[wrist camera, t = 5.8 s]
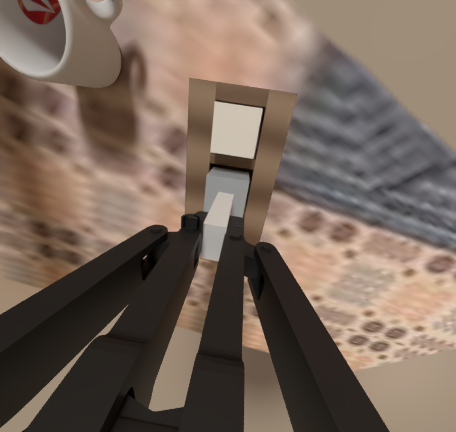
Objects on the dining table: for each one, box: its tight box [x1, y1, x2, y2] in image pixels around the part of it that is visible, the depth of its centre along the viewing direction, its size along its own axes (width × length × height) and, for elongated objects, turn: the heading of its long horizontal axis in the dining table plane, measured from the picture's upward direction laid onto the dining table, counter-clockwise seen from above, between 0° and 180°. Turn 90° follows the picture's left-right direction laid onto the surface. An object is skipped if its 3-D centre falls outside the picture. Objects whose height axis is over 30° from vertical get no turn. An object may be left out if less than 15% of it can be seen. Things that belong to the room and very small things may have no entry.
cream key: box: [210, 101, 263, 159], centre depth 19 cm, size 4×4×4 cm
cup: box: [0, 0, 123, 88], centre depth 16 cm, size 11×8×8 cm
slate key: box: [204, 167, 249, 218], centre depth 21 cm, size 4×4×4 cm
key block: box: [185, 78, 297, 246], centre depth 24 cm, size 21×11×3 cm, turn 172°
